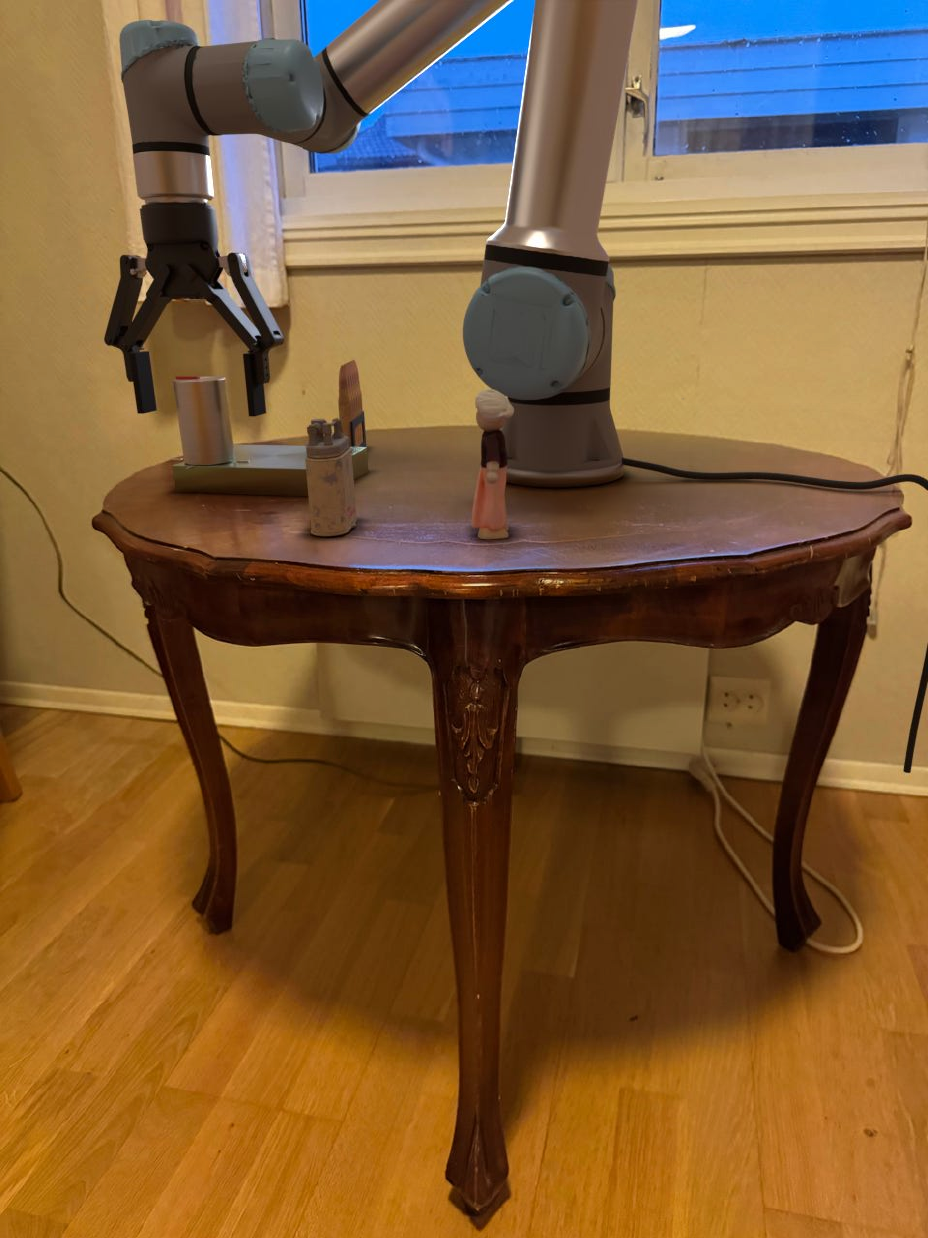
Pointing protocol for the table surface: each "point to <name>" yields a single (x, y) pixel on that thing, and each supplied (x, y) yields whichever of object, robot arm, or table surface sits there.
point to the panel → (257, 471)
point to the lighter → (330, 479)
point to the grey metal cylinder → (204, 420)
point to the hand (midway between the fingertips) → (201, 413)
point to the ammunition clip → (351, 405)
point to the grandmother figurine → (491, 466)
